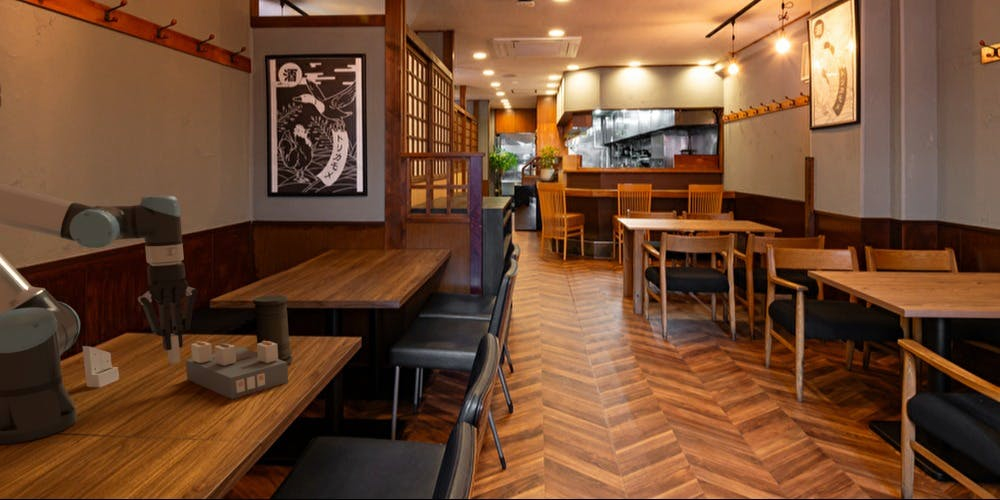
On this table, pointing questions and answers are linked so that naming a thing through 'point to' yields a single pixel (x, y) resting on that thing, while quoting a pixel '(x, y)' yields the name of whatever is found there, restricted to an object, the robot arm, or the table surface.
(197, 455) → the table surface
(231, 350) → the knob mid
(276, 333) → the container
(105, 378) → the white wedge bracket
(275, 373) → the switch unit
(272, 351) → the knob near
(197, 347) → the knob far
